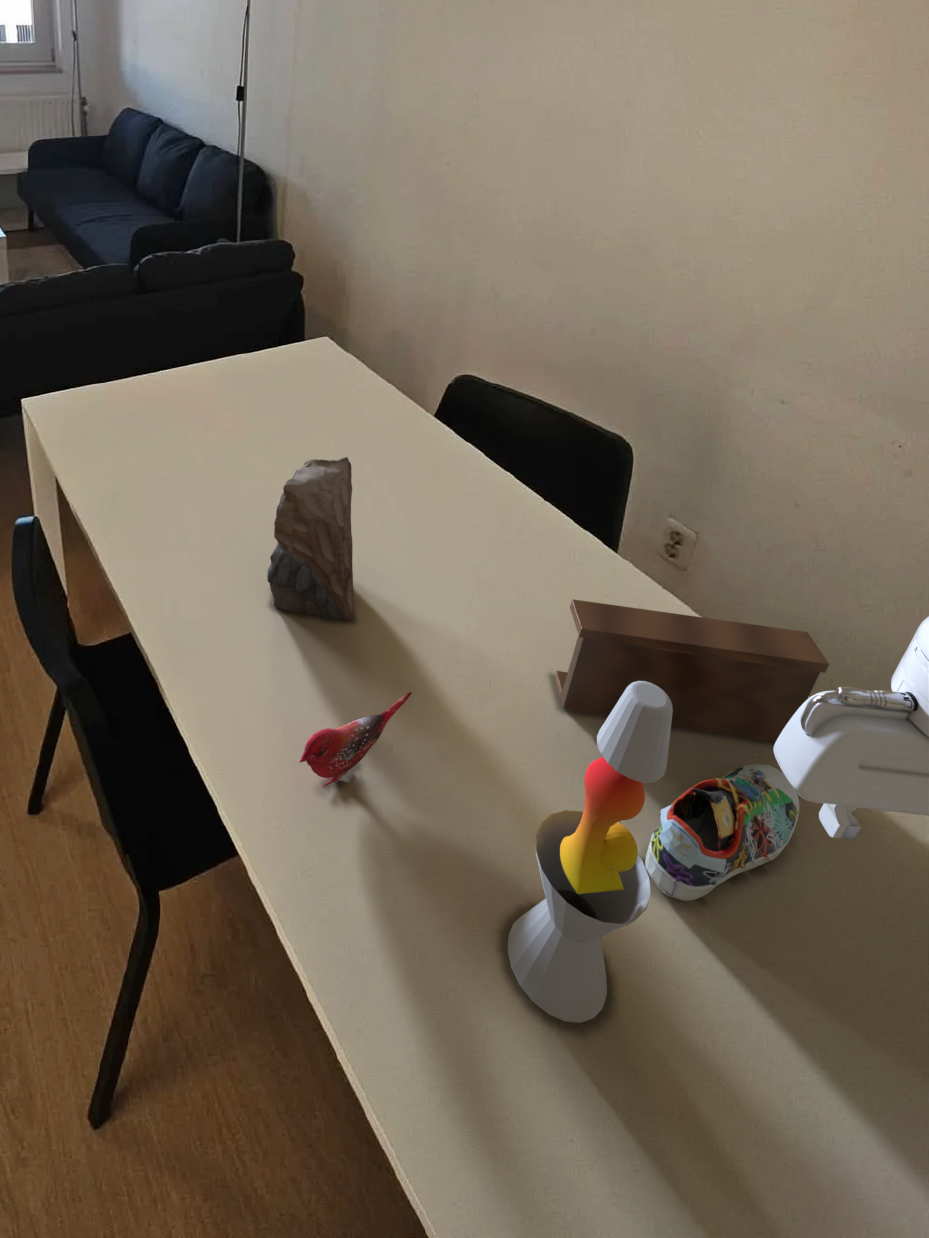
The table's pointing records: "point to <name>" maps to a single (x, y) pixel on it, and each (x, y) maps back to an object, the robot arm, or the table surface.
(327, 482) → the brown rock
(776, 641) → the wooden wall shelf
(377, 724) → the decorative bird figurine
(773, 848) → the sneaker
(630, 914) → the lava lamp
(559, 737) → the table surface
